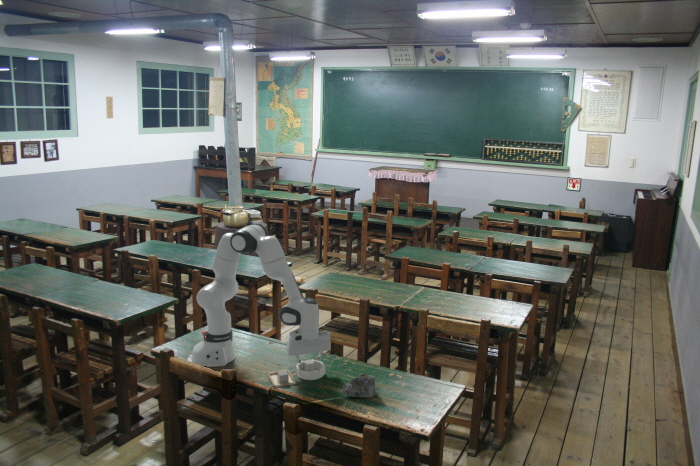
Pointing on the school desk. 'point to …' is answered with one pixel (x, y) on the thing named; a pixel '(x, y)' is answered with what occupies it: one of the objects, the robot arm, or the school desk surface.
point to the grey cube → (309, 366)
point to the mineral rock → (360, 386)
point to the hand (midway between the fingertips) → (308, 361)
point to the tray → (274, 382)
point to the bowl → (311, 375)
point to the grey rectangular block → (282, 377)
